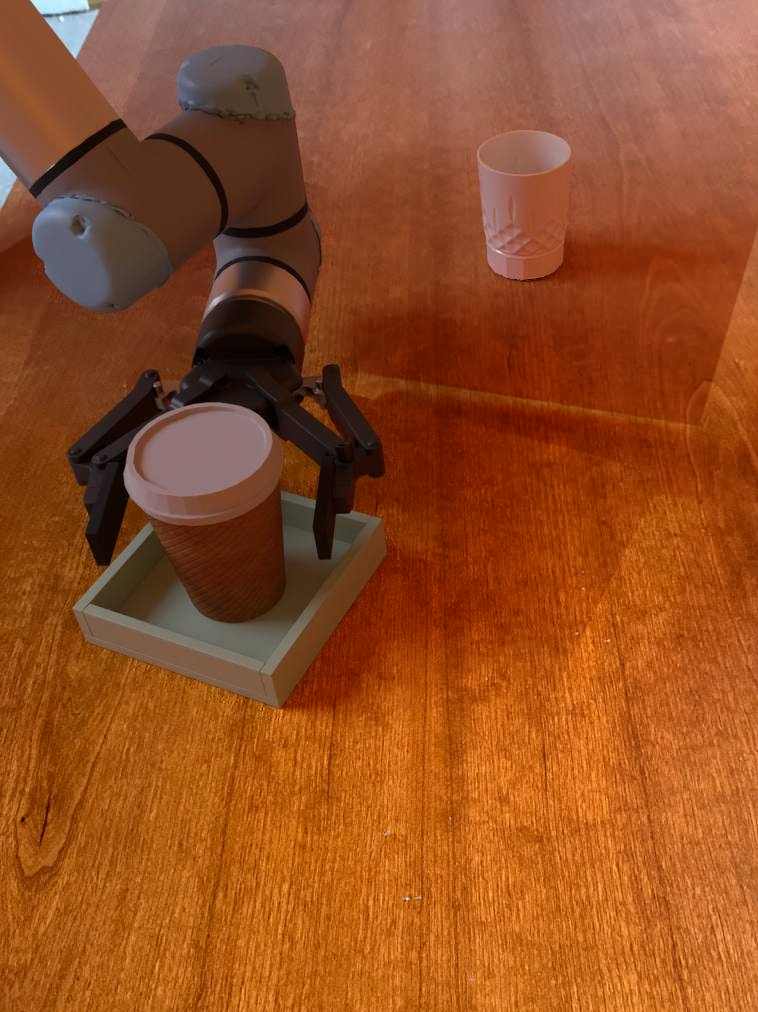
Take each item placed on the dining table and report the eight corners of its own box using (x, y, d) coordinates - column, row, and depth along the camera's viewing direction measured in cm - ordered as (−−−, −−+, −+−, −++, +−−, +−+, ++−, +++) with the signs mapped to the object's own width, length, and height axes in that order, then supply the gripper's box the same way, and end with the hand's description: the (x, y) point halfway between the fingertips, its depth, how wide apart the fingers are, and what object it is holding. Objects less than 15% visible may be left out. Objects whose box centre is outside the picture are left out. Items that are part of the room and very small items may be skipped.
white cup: (470, 278, 103) (464, 169, 96) (495, 232, 108) (492, 125, 101) (557, 290, 102) (558, 180, 94) (579, 243, 107) (582, 134, 99)
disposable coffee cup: (136, 605, 78) (83, 465, 69) (233, 520, 83) (195, 379, 74) (245, 664, 74) (204, 524, 65) (339, 571, 79) (313, 429, 70)
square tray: (86, 642, 77) (71, 607, 74) (208, 501, 85) (198, 466, 83) (280, 709, 73) (271, 675, 70) (387, 553, 81) (382, 518, 79)
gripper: (429, 377, 87) (420, 584, 73) (96, 388, 88) (24, 595, 74) (422, 288, 82) (411, 494, 68) (66, 300, 82) (-18, 506, 68)
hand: (209, 547), depth 71 cm, fingers open, 13 cm apart
